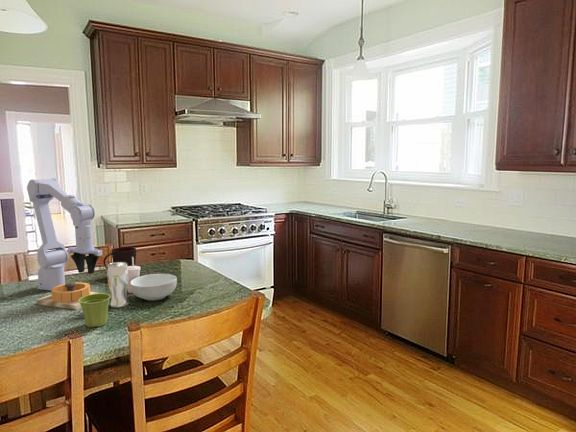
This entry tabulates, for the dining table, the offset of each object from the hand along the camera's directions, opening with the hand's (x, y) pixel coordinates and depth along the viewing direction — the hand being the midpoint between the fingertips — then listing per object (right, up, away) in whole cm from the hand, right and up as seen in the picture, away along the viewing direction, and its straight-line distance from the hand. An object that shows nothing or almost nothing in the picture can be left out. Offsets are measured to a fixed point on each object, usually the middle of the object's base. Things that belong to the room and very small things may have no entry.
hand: (86, 272), depth 162 cm
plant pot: (+15, -13, -25) cm, 32 cm away
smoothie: (+15, -9, +7) cm, 19 cm away
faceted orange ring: (-4, -8, -4) cm, 10 cm away
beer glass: (+16, -11, -8) cm, 20 cm away
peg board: (-4, -10, -3) cm, 11 cm away
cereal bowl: (+26, -10, +1) cm, 27 cm away
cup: (+2, -6, +28) cm, 29 cm away
